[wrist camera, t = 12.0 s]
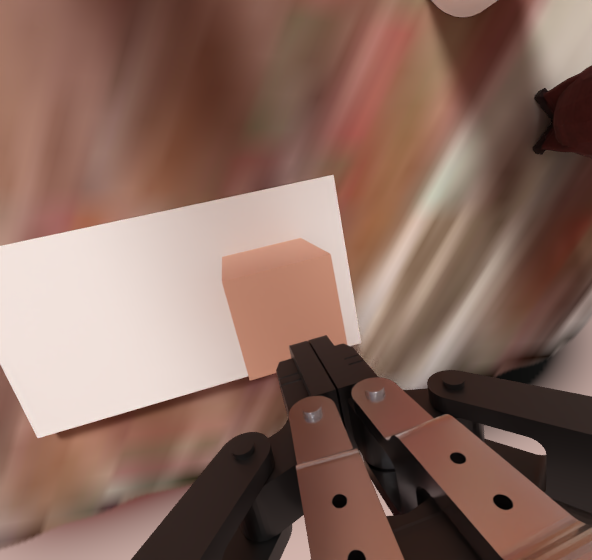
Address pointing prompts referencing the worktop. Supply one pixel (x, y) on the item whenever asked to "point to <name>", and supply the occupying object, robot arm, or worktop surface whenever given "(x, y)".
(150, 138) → the worktop surface
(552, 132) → the mate gourd
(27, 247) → the white board
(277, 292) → the salmon pink cube
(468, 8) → the cylindrical container
